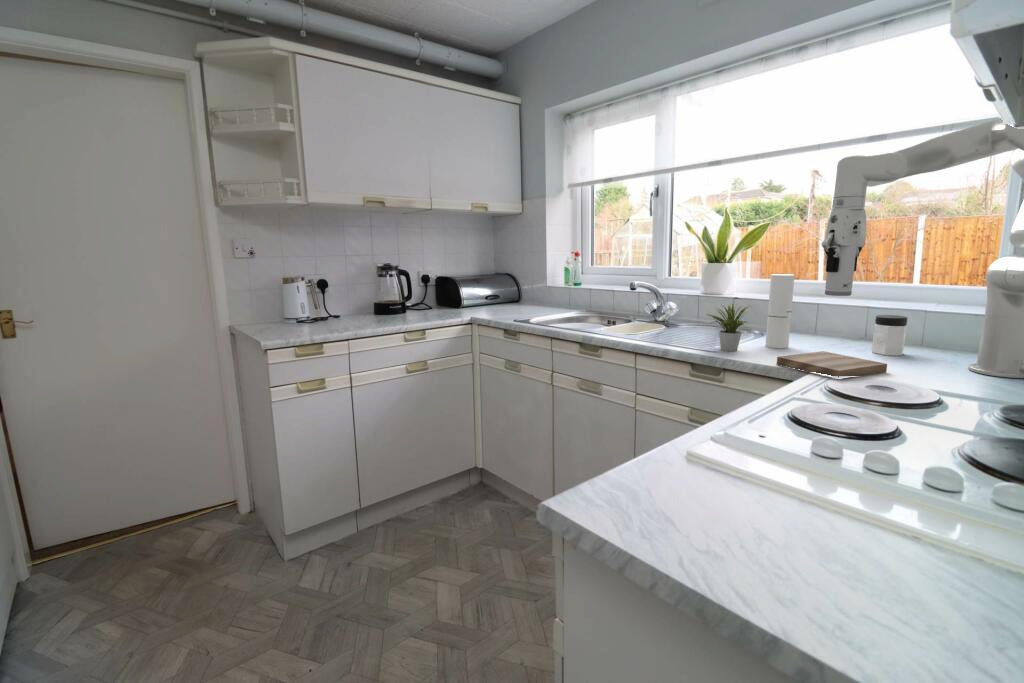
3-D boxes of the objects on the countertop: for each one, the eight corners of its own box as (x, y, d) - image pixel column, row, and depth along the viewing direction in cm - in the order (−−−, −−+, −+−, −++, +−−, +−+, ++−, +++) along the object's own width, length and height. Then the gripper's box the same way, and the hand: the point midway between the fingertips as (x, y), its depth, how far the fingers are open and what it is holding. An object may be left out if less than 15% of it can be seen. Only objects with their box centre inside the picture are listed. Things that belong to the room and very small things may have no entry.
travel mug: (851, 296, 135) (860, 220, 131) (823, 295, 139) (830, 221, 135) (853, 294, 140) (861, 221, 136) (825, 293, 144) (833, 222, 140)
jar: (864, 351, 165) (868, 315, 163) (882, 349, 168) (886, 314, 166) (891, 356, 157) (896, 318, 155) (910, 354, 159) (915, 317, 157)
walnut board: (886, 372, 138) (887, 363, 137) (838, 379, 131) (839, 370, 131) (822, 358, 155) (822, 351, 155) (776, 364, 148) (777, 356, 148)
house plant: (731, 344, 181) (734, 299, 178) (762, 351, 168) (766, 302, 165) (699, 347, 176) (702, 301, 173) (729, 354, 163) (733, 304, 160)
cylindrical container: (793, 347, 174) (799, 274, 169) (777, 349, 171) (784, 275, 166) (775, 343, 180) (781, 273, 176) (760, 345, 178) (766, 274, 173)
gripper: (838, 202, 128) (831, 273, 132) (883, 204, 134) (875, 271, 138) (812, 205, 135) (805, 272, 138) (856, 206, 141) (849, 270, 145)
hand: (840, 271), depth 138 cm, fingers closed on travel mug, 6 cm apart
